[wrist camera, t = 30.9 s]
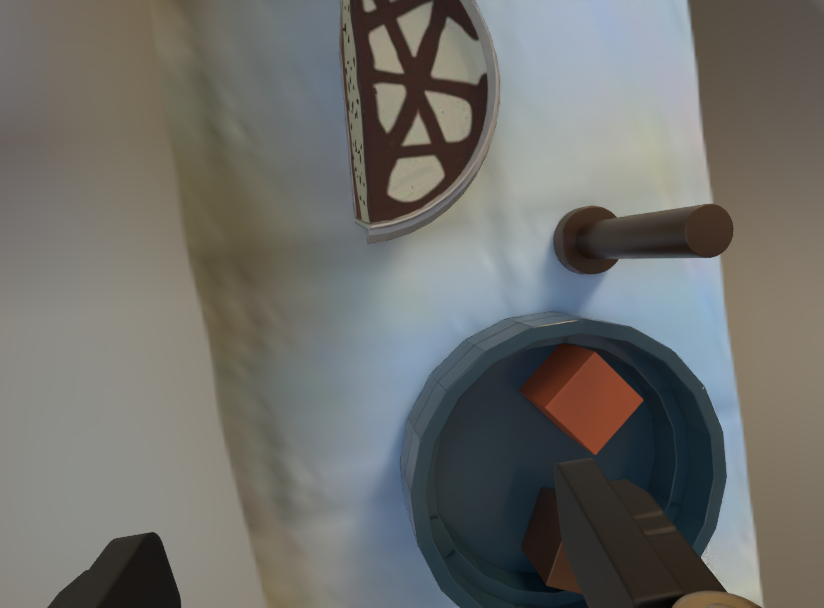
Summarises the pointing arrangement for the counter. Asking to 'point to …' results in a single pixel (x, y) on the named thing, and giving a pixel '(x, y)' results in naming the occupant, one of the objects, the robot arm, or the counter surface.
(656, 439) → the bowl
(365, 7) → the food container
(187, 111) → the counter surface
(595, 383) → the block
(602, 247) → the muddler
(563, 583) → the block
